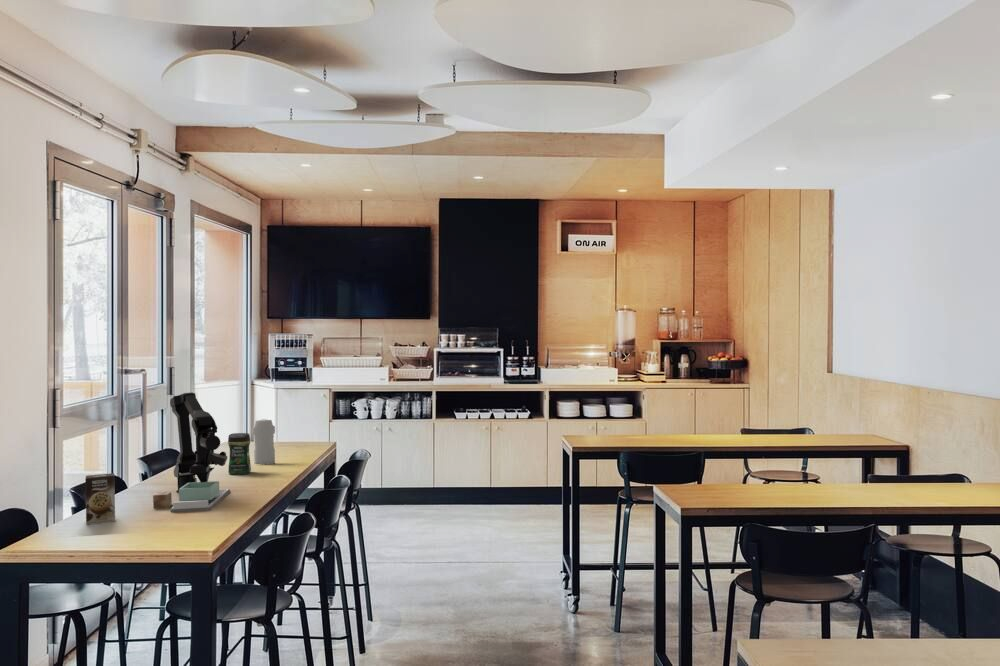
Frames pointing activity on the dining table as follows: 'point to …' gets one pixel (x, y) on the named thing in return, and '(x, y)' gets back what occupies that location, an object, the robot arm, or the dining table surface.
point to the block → (162, 500)
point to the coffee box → (100, 498)
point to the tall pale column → (264, 442)
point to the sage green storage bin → (199, 491)
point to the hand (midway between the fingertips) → (205, 487)
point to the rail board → (199, 503)
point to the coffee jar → (239, 453)
